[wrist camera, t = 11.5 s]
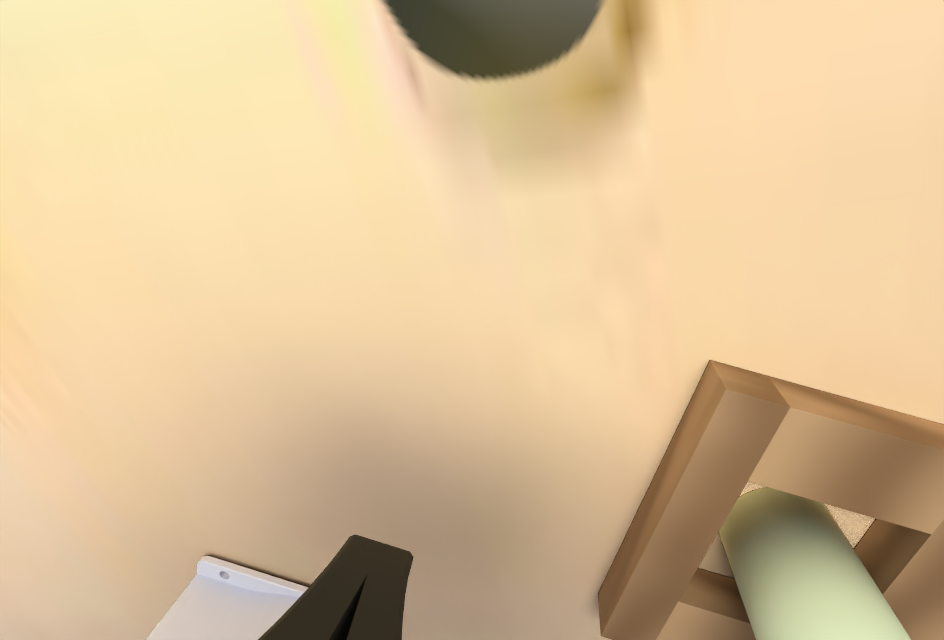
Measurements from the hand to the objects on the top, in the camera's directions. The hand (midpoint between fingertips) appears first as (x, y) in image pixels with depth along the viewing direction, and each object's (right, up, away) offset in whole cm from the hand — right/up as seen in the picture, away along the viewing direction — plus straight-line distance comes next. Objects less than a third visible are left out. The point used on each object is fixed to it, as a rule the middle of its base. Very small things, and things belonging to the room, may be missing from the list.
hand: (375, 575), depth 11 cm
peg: (+14, -3, +9) cm, 17 cm away
